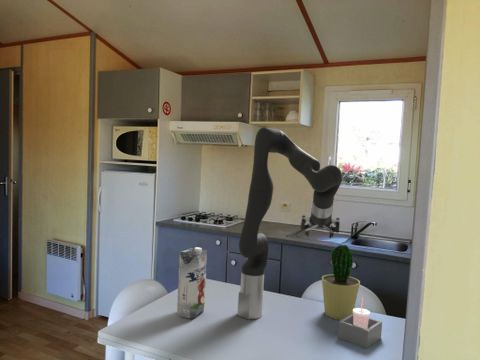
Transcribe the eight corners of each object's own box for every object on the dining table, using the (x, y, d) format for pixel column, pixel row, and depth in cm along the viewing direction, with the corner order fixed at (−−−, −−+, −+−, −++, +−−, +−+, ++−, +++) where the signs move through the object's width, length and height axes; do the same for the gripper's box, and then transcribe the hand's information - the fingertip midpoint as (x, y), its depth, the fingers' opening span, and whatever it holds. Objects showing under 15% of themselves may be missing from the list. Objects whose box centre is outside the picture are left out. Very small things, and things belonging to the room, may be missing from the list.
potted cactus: (353, 309, 172) (358, 241, 171) (361, 323, 157) (366, 249, 155) (317, 306, 174) (322, 238, 172) (321, 320, 158) (326, 246, 157)
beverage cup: (366, 340, 139) (368, 301, 139) (348, 335, 143) (351, 297, 142) (370, 334, 145) (373, 297, 144) (353, 330, 148) (356, 293, 147)
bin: (366, 348, 136) (368, 331, 135) (337, 337, 143) (339, 321, 143) (381, 337, 145) (382, 321, 144) (353, 328, 152) (354, 312, 152)
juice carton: (173, 316, 154) (177, 248, 153) (187, 307, 164) (190, 243, 162) (194, 321, 151) (197, 251, 149) (206, 312, 160) (209, 246, 159)
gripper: (342, 202, 143) (337, 228, 155) (302, 200, 145) (300, 226, 157) (342, 219, 138) (337, 245, 150) (301, 216, 140) (299, 241, 152)
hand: (318, 235), depth 154 cm, fingers open, 8 cm apart
